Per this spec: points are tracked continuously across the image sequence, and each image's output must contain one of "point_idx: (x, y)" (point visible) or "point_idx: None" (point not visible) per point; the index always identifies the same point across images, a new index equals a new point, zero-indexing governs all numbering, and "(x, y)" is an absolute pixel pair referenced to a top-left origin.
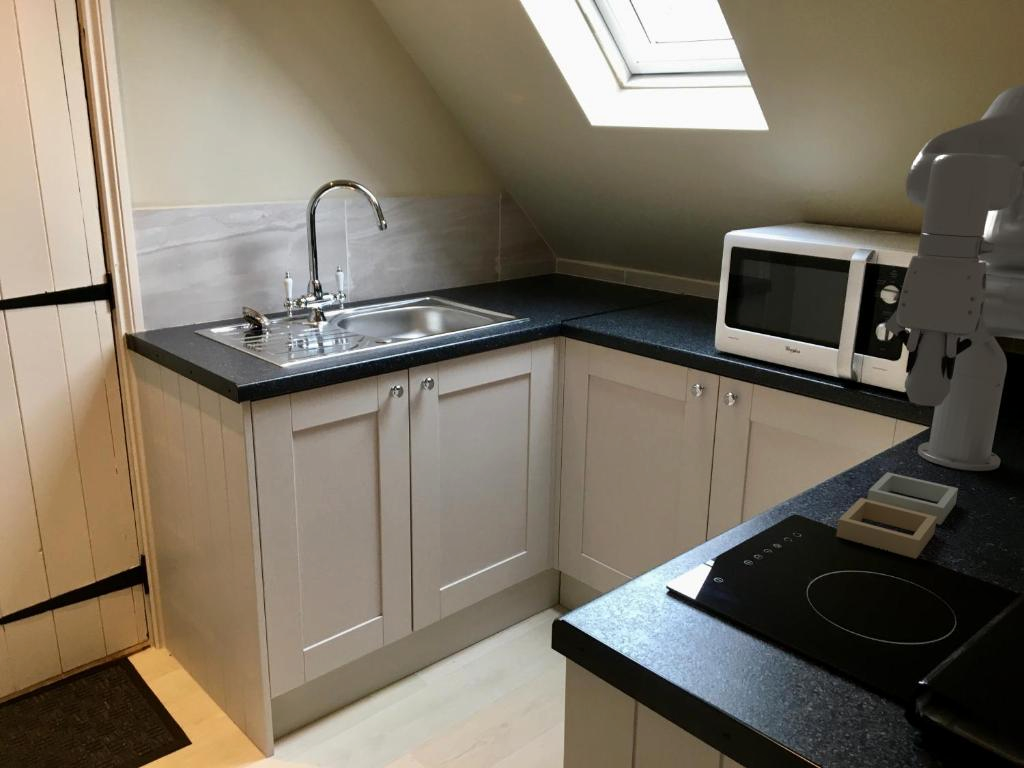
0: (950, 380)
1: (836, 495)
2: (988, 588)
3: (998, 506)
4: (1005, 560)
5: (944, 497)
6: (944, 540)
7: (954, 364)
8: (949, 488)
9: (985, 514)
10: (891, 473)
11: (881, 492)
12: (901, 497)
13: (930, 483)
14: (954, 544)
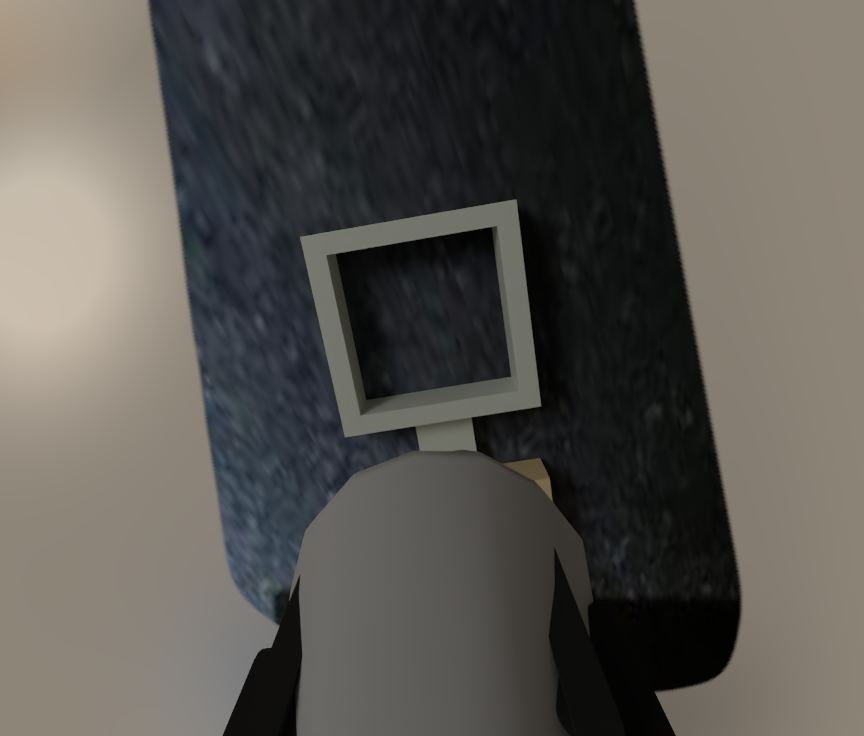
0: (588, 581)
1: (263, 410)
2: (701, 622)
3: (606, 105)
4: (701, 475)
5: (514, 320)
6: (569, 473)
7: (649, 688)
8: (497, 225)
9: (594, 213)
10: (315, 238)
11: (377, 427)
12: (430, 419)
13: (438, 228)
14: (593, 477)
